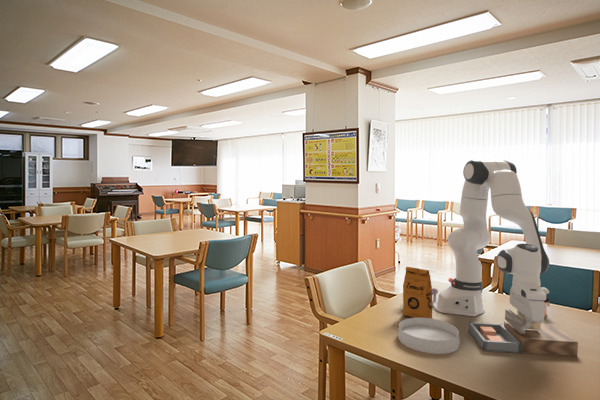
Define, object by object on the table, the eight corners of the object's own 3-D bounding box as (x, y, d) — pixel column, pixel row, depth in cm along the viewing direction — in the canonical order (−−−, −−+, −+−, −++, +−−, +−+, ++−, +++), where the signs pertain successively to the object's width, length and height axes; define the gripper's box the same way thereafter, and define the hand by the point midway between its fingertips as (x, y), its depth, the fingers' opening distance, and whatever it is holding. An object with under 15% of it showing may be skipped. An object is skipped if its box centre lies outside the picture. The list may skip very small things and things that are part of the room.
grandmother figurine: (533, 312, 172) (534, 285, 171) (540, 312, 172) (542, 285, 171) (545, 318, 164) (546, 290, 163) (553, 318, 164) (554, 290, 164)
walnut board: (521, 352, 131) (522, 338, 131) (503, 333, 147) (504, 321, 147) (577, 356, 129) (578, 342, 128) (553, 336, 144) (553, 324, 144)
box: (483, 350, 132) (483, 341, 132) (468, 330, 150) (468, 322, 150) (521, 353, 130) (521, 343, 130) (501, 332, 148) (501, 324, 148)
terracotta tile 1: (503, 341, 133) (503, 348, 133) (499, 336, 137) (499, 342, 138) (490, 340, 134) (490, 347, 134) (486, 335, 138) (486, 341, 138)
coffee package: (425, 324, 157) (426, 272, 155) (399, 316, 165) (400, 267, 164) (436, 318, 163) (437, 268, 162) (410, 310, 172) (411, 264, 171)
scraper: (520, 333, 132) (521, 322, 132) (504, 319, 146) (505, 309, 146) (547, 336, 131) (548, 325, 130) (529, 321, 144) (530, 311, 144)
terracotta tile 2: (496, 331, 142) (496, 338, 142) (491, 327, 146) (491, 333, 146) (483, 331, 142) (483, 337, 142) (479, 326, 147) (479, 332, 147)
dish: (429, 360, 126) (429, 345, 126) (385, 335, 145) (386, 323, 145) (473, 346, 136) (473, 333, 136) (427, 325, 156) (427, 314, 155)
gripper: (505, 280, 148) (504, 314, 149) (529, 296, 128) (527, 335, 129) (522, 281, 147) (521, 315, 148) (549, 297, 127) (547, 336, 128)
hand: (524, 324), depth 138 cm, fingers closed on scraper, 3 cm apart
